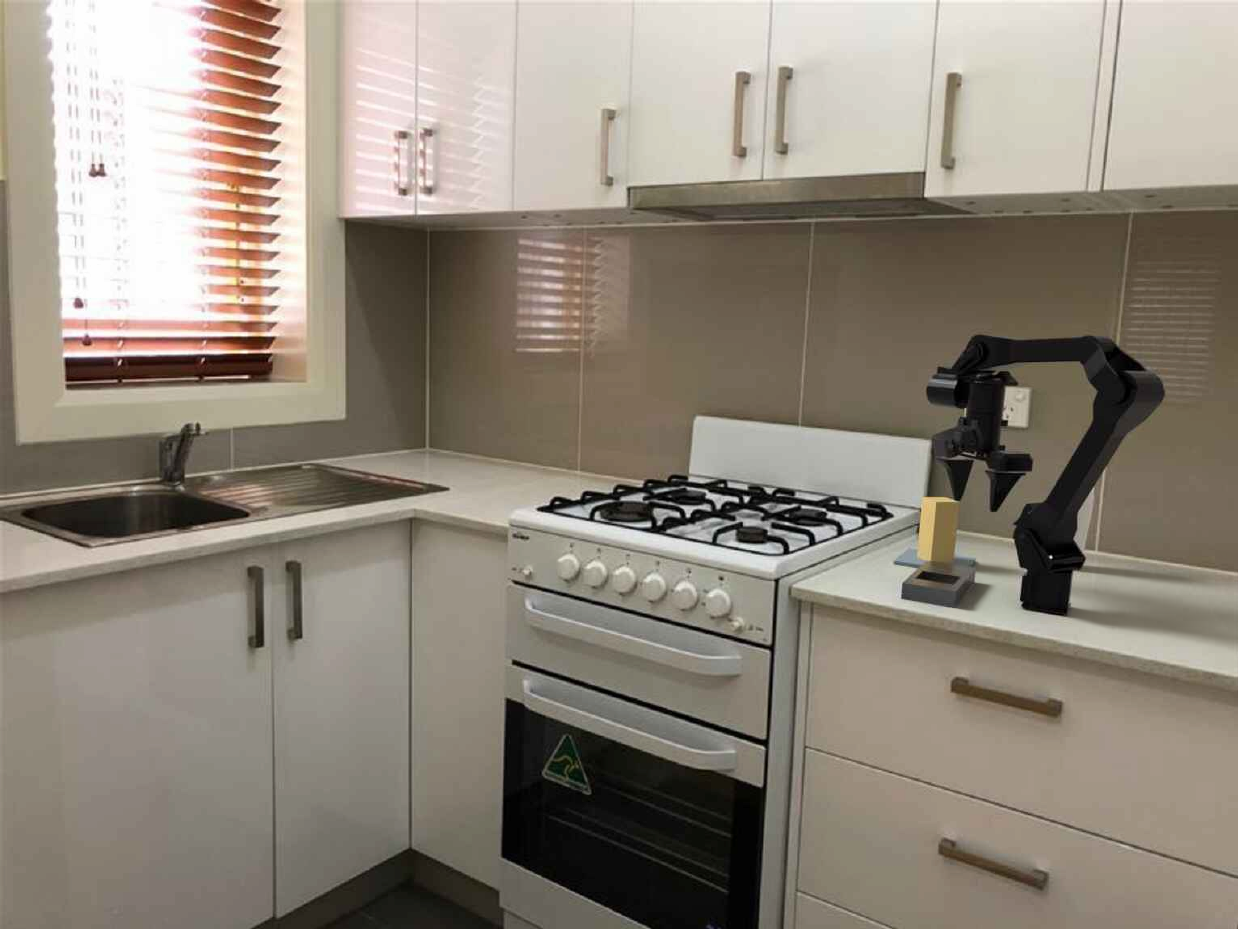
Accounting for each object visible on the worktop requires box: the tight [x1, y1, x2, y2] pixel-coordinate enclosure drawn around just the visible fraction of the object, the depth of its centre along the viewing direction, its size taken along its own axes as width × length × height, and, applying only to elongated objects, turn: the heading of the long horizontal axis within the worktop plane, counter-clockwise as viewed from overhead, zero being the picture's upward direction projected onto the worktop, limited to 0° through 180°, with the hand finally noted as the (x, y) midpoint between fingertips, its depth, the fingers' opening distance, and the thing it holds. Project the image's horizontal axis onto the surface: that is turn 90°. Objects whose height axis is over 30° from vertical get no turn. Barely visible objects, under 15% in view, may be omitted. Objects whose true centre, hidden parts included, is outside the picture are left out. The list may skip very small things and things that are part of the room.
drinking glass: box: [1049, 483, 1096, 559], centre depth 179 cm, size 7×7×15 cm
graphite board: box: [900, 560, 977, 608], centre depth 160 cm, size 8×18×2 cm, turn 151°
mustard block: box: [917, 496, 961, 563], centre depth 178 cm, size 5×5×11 cm
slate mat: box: [892, 548, 976, 569], centre depth 179 cm, size 12×12×1 cm
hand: (974, 506), depth 164 cm, fingers open, 9 cm apart
